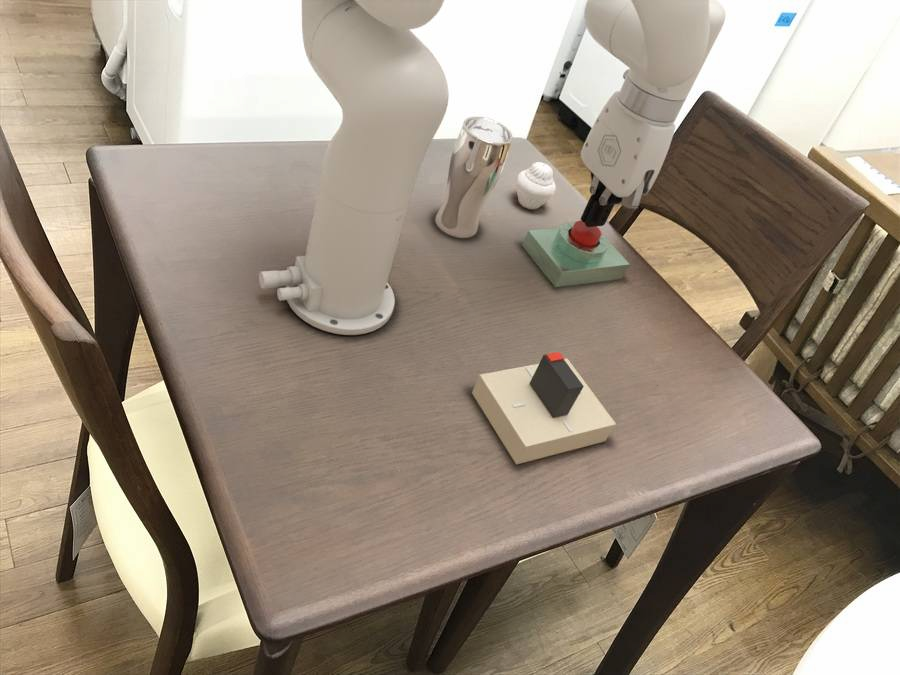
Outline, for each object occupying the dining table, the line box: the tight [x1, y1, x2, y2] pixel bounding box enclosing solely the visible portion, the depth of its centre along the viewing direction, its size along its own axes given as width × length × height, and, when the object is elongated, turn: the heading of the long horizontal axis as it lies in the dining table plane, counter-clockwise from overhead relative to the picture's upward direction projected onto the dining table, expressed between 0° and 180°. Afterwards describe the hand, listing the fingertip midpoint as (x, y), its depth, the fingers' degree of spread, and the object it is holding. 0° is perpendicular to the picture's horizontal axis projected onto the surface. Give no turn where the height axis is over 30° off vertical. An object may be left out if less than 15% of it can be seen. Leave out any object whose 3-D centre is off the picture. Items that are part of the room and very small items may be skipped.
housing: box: [521, 221, 630, 288], centre depth 107 cm, size 12×9×4 cm
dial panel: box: [471, 358, 617, 465], centre depth 83 cm, size 12×10×3 cm
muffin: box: [515, 161, 557, 210], centre depth 114 cm, size 6×6×7 cm
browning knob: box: [530, 351, 584, 418], centre depth 80 cm, size 5×2×5 cm, turn 27°
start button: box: [570, 220, 602, 248], centre depth 105 cm, size 4×4×2 cm
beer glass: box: [434, 116, 513, 239], centre depth 102 cm, size 7×7×15 cm
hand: (592, 222), depth 104 cm, fingers closed
